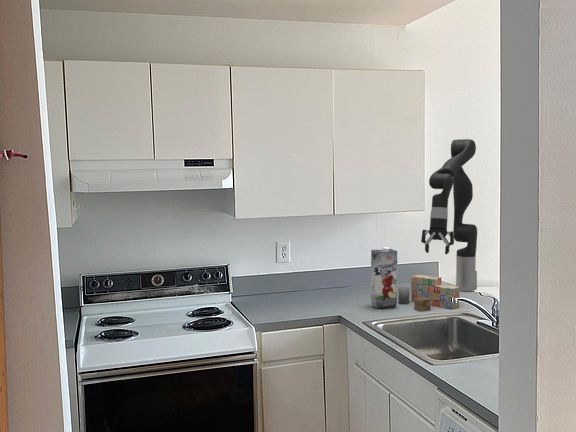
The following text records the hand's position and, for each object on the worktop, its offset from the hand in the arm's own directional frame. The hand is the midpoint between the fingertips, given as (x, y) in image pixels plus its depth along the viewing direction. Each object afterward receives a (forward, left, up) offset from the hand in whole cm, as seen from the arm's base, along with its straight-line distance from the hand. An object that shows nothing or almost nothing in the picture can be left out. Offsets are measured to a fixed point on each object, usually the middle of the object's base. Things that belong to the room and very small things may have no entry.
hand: (436, 253), depth 271 cm
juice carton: (+24, -6, -23) cm, 34 cm away
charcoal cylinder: (+12, -8, -23) cm, 27 cm away
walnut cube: (+12, +6, -23) cm, 27 cm away
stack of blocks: (+1, +1, -24) cm, 24 cm away
